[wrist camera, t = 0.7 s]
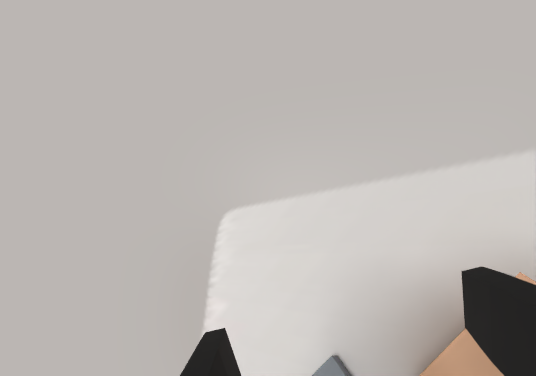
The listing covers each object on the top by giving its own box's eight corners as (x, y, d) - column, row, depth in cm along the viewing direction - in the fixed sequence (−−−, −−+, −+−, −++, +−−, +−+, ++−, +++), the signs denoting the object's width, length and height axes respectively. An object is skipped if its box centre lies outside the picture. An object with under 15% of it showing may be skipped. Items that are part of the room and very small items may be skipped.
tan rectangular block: (623, 359, 15) (659, 359, 11) (500, 477, 15) (502, 509, 12) (515, 287, 18) (519, 272, 15) (419, 385, 19) (403, 391, 16)
